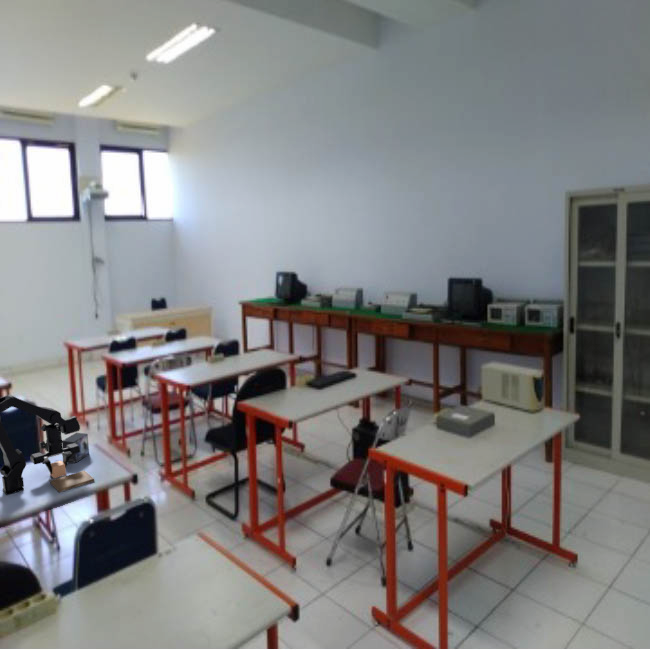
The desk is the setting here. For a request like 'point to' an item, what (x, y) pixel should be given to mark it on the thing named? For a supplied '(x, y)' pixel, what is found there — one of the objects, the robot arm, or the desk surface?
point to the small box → (81, 441)
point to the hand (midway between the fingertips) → (57, 472)
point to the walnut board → (72, 481)
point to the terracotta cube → (58, 469)
